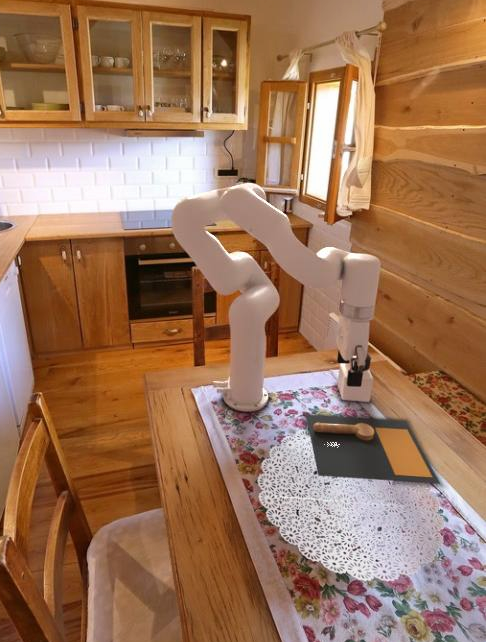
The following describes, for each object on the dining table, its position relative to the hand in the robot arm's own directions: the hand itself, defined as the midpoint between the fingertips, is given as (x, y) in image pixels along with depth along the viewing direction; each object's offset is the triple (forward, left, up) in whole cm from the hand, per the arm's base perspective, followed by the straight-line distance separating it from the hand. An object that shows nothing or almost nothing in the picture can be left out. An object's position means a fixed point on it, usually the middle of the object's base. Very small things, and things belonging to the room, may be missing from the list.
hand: (348, 373), depth 97 cm
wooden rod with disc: (+1, -1, -16) cm, 16 cm away
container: (+7, +16, -17) cm, 24 cm away
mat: (+5, -5, -17) cm, 18 cm away
